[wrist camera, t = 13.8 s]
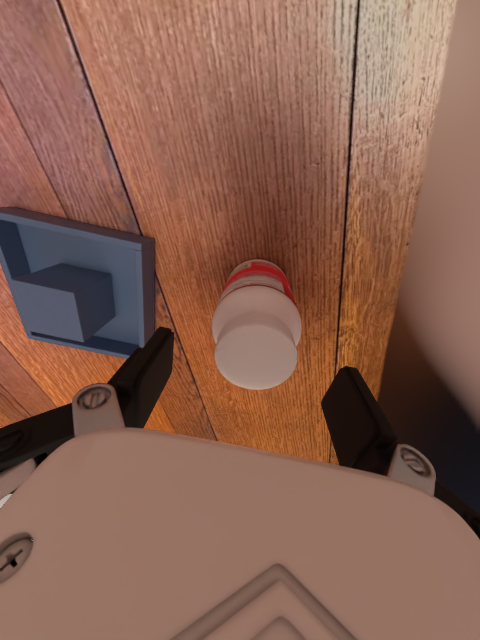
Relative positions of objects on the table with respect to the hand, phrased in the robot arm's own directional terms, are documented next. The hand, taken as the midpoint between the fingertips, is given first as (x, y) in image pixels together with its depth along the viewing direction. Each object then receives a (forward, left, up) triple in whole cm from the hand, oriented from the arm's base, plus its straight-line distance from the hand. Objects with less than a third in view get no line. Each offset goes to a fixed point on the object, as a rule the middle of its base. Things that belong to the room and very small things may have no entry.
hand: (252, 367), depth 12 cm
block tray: (+4, -17, -11) cm, 21 cm away
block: (+4, -17, -11) cm, 20 cm away
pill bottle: (0, 0, -12) cm, 12 cm away
